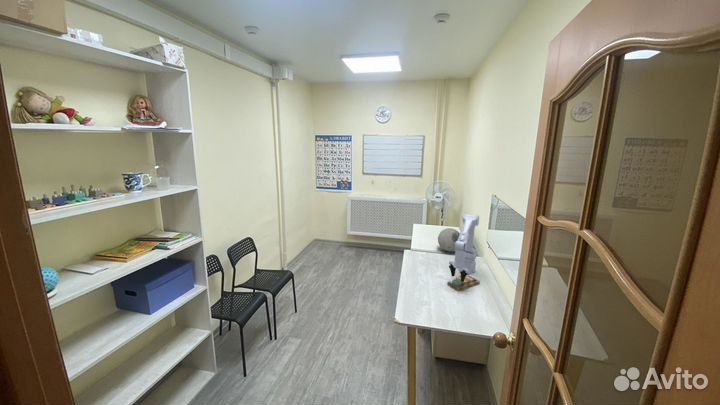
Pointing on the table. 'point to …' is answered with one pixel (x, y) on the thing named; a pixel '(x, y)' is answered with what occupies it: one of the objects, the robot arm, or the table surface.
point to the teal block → (456, 282)
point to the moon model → (448, 239)
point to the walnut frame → (464, 285)
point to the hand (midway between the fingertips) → (457, 278)
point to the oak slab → (466, 279)
